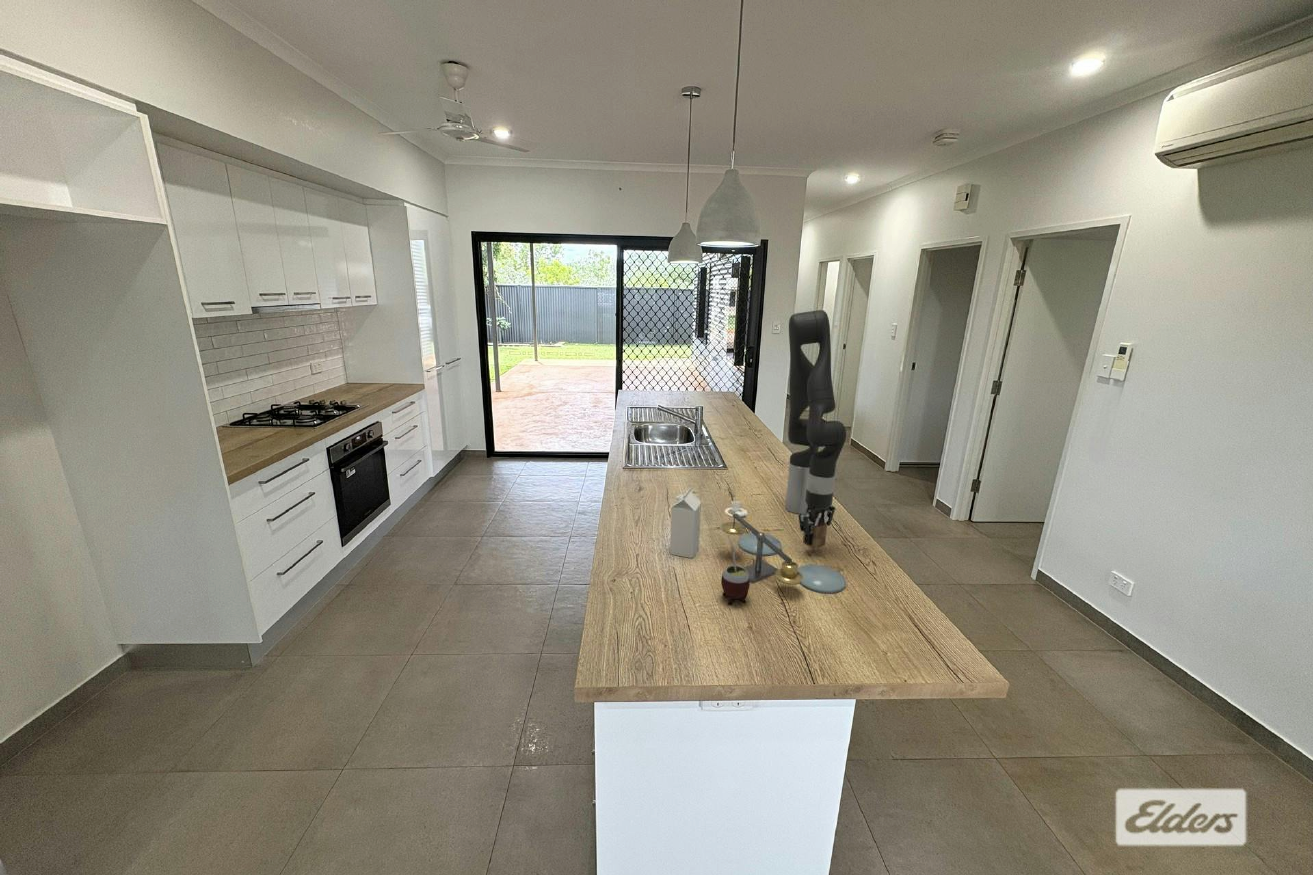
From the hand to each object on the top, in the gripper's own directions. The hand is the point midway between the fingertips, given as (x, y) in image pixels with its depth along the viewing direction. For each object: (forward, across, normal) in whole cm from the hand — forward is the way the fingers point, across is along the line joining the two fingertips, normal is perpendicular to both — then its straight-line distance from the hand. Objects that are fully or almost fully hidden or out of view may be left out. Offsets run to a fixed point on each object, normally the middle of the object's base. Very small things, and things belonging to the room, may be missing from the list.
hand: (813, 541), depth 152 cm
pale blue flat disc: (+4, +10, -12) cm, 16 cm away
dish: (+4, +11, +11) cm, 16 cm away
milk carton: (+4, +32, -21) cm, 39 cm away
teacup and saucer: (+5, +3, -34) cm, 34 cm away
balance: (+3, +23, 0) cm, 23 cm away
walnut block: (+1, 0, 0) cm, 1 cm away
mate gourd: (+3, +37, +5) cm, 37 cm away
